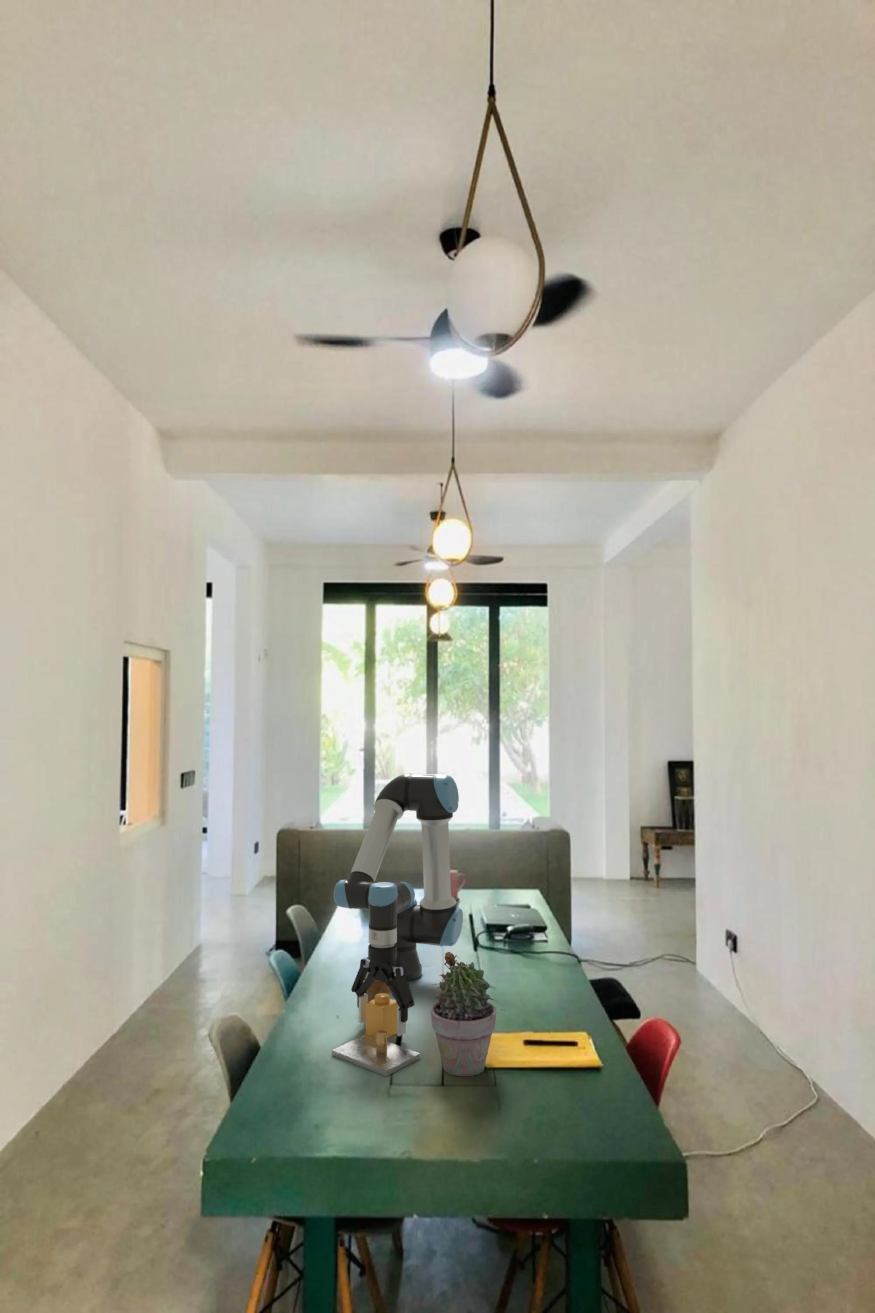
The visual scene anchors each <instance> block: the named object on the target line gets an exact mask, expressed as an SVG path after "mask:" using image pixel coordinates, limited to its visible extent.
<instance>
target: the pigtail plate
mask: <svg viewBox="0 0 875 1313" xmlns="http://www.w3.org/2000/svg"><path fill="white" fill-rule="evenodd" d="M331 1055H332V1057H333V1056H334V1057H336V1058H338V1059H341V1060H343V1061H346V1062H349V1063H351V1064H354V1065H355V1066H358V1067H360V1068H363V1069H366V1070H368V1071H371V1072H374V1073H376V1074H378V1075H381V1076H382V1077H385V1078H386V1077H388V1076H390V1075H392V1074H394V1073H396V1072H398V1071H399V1070H401V1069H403V1068H405V1067H407V1066H408V1065H411V1064H412V1063H414V1062H416V1061H417V1060H420V1059H421V1057H420V1056H421V1053H420V1052H417V1051H415V1050H412V1049H410V1048H409V1049H408V1048H406V1047H405V1046H404V1047H403V1046H401V1045H398V1044H395V1043H392V1042H390V1041H388V1038H387V1031H385V1030H380V1031H377V1032H376V1037H373V1036H370V1035H367V1034H366V1033H364V1035H361V1036H359V1037H357V1038H354V1039H353V1040H350V1041H348V1042H346V1043H344V1044H342V1045H340V1046H337V1047H335V1048H333V1049H332V1050H331Z"/></svg>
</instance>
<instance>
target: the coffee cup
mask: <svg viewBox="0 0 875 1313" xmlns="http://www.w3.org/2000/svg"><path fill="white" fill-rule="evenodd" d="M370 971H371V970H370V967H369V969H368V972H367V974H366V977H365V979H364V981H365V980H366V978H367V976H368V974H369V973H370ZM390 980H391V979H390ZM366 992H367V993H365V994H367V995H368V1002H369V1001H371V1000H373V999H375V995H376V994H380V993H386V994H389V995H390V996H391V990H390V988H389V986H387V985H386V983H385V982H381V981H380V980H379V981H377V980H375V981H374V982H373V983H372V985H371V986H370V987H369V989H368V990H367V991H366ZM365 994H364V995H365Z"/></svg>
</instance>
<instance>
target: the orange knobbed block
mask: <svg viewBox="0 0 875 1313" xmlns="http://www.w3.org/2000/svg"><path fill="white" fill-rule="evenodd" d="M398 1008H399V1006H398V1004H397V1002H396V1000H395V999H393V998H391V994H390V995H389V994H386V993H380V994H376V995H375V999H373V1000H371V1001H369V1002H366V1021H365V1034H367V1035H370V1036H373V1037H376V1032H377V1031H380V1030H385V1031H387V1039H389V1038H390V1037H393V1036H395V1035H397V1009H398Z"/></svg>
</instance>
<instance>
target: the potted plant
mask: <svg viewBox="0 0 875 1313" xmlns="http://www.w3.org/2000/svg"><path fill="white" fill-rule="evenodd" d="M444 954H445V955H444V960H445V962H444V963H443V964H444V966H445V967H447V970H449V971H450V972H449V971H446V973H445V974H444V973H442V974H440V975H439V977H442V981H439V987H438V986H437V989H440V990H441V992H439V993H438V994H437V996H436V997H435V996H434V999H437V1000H438V1001H437V1002H435V1003H433V1005H432V1007H431V1009H430V1017H431V1018H430V1019H431V1029H432V1030H433V1032H435V1037H436V1042H437V1046H438V1052H439V1056H440V1059H441V1063H442V1068H443V1070H444V1071H445V1073H447V1074H449V1075H451V1076H456V1077H473V1076H476V1075H479V1074H481V1073H482V1072H484V1070H485V1066H486V1063H487V1056H488V1054H489V1047H490V1043H491V1039H492V1035H493V1032H494V1031H495V1030H496V1021H497V1009H496V1008H497V1007H495V1006H494V1004H493V1003H491V1002H489V1000H490V1001H491V1000H492V1001H495V1002H497V1003H499V1001H496V999H493V998H491V996H490V995H489V994H488V993H487V990H488V989H490V990H492V989H493V990H494V991H495V990H497V987H495V986H493V985H491V984H490V983H489V982H488V981H486V979H485V978H484V975H485V971H484V969H483V970H482V969H477V968H475V962H473V961H471V963H469V964H468V963H464V961H463V962H462V961H460V962H458V959H460V957H459V956H458V955H457V954H454V953H452V952H451V951H447V952H445V953H444ZM456 957H457V958H458V959H456ZM434 985H436V983H435V984H434V983H433V984H432V986H434ZM425 986H427V985H426V984H425V985H424V987H425ZM502 993H504V991H502ZM499 1004H500V1003H499ZM500 1010H502V1011H505V1012H506V1010H504V1009H500Z"/></svg>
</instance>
